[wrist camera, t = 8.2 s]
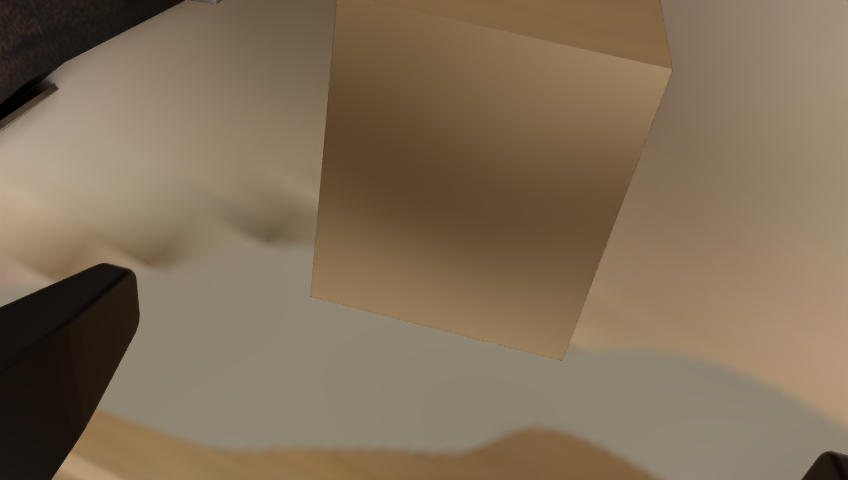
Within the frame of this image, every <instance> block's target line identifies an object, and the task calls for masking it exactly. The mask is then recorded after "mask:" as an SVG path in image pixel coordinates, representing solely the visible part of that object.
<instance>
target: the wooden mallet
mask: <svg viewBox="0 0 848 480" xmlns="http://www.w3.org/2000/svg"><path fill="white" fill-rule="evenodd" d="M672 70H673V69H672V63H671V58H670V53H669V47H668V42H667V37H666V31H665V26H664V21H663V15H662V10H661V5H660V0H337V5H336V16H335V27H334V38H333V50H332V61H331V72H330V83H329V94H328V106H327V117H326V128H325V139H324V150H323V162H322V173H321V184H320V195H319V206H318V218H317V229H316V240H315V251H314V262H313V274H312V285H311V297H313V298H318V299H321V300H325V301H329V302H333V303H337V304H341V305H345V306H349V307H352V308H356V309H360V310H364V311H368V312H372V313H376V314H380V315H384V316H388V317H392V318H396V319H400V320H403V321H408V322H412V323H415V324H419V325H423V326H427V327H431V328H435V329H439V330H443V331H447V332H451V333H455V334H459V335H462V336H466V337H470V338H474V339H478V340H482V341H486V342H490V343H494V344H498V345H502V346H505V347H510V348H514V349H517V350H522V351H525V352H529V353H533V354H537V355H541V356H545V357H549V358H553V359H556V360H560V361H562V360H563V358H564V355H565V352H566V350H567V347H568V344H569V342H570V339H571V336H572V334H573V331H574V329H575V326H576V323H577V321H578V318H579V315H580V313H581V310H582V307H583V305H584V302H585V300H586V297H587V294H588V292H589V289H590V286H591V284H592V281H593V278H594V276H595V273H596V270H597V268H598V265H599V263H600V260H601V257H602V255H603V252H604V249H605V247H606V244H607V241H608V239H609V236H610V234H611V231H612V228H613V226H614V223H615V220H616V218H617V215H618V212H619V210H620V207H621V205H622V202H623V199H624V197H625V194H626V191H627V189H628V186H629V183H630V181H631V178H632V175H633V173H634V170H635V168H636V165H637V162H638V160H639V157H640V154H641V152H642V149H643V146H644V144H645V141H646V139H647V136H648V133H649V131H650V128H651V125H652V123H653V120H654V117H655V115H656V112H657V109H658V107H659V104H660V102H661V99H662V96H663V94H664V91H665V88H666V86H667V83H668V80H669V78H670V75H671V73H672Z"/></svg>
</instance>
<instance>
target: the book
mask: <svg viewBox="0 0 848 480" xmlns="http://www.w3.org/2000/svg"><path fill="white" fill-rule="evenodd" d="M183 1H185V0H0V114H1V113H3V112H4V111H5V110H6V109H8V108H9V107H10V106H11V105H12V104H14V103H15V102H16V101H17V100H19V99H20V98H21V97H22V96H24V95H25V94H26V93H27V92H28V91H30V90H31V89H32V88H33V87H35V86H36V85H37V84H38V83H40V82H41V81H42V80H43V79H44V78H46V77H47V76H48V75H49V74H51V73H52V72H53V71H54V70H56V69H57V68H58V67H59V66H60V65H62V64H63V63H64V62H66V61H68V60H70V59H72V58H74V57H76V56H78V55H80V54H82V53H84V52H86V51H88V50H90V49H91V48H93V47H95V46H97V45H99V44H101V43H103V42H105V41H107V40H109V39H111V38H113V37H115V36H117V35H119V34H121V33H123V32H125V31H126V30H128V29H130V28H132V27H134V26H136V25H138V24H140V23H142V22H144V21H146V20H148V19H150V18H152V17H154V16H156V15H158V14H160V13H161V12H163V11H165V10H167V9H169V8H171V7H173V6H175V5H177V4H179V3H181V2H183ZM191 1H198V2H205V3H211V4H218V3H219V2H220V1H222V0H191ZM57 90H58V87H57V86H56V85H55V84H54V85H53V86H51V87H50V88H48V89H47V90H45V91H44V92H42V93H41V94H39V95H38V96H36V97H35V98H33V99H32V100H30V101H29V102H27V103H26V104H24V105H23V106H21V107H20V108H18V109H17V110H15V111H14V112H13V113H11V114H10V115H8V116H7V117H5V118H4V119H2V120H1V121H0V132H1V131H2V130H4V129H5V128H6V127H8V126H9V125H10V124H12V123H13V122H15V121H16V120H17V119H19V118H20V117H21V116H23V115H24V114H25V113H27V112H28V111H30V110H31V109H32V108H34V107H35V106H36V105H38V104H39V103H40V102H42V101H43V100H45V99H46V98H47V97H49V96H50V95H51V94H53V93H54V92H55V91H57Z"/></svg>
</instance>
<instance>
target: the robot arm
mask: <svg viewBox="0 0 848 480" xmlns="http://www.w3.org/2000/svg"><path fill="white" fill-rule="evenodd" d="M139 315H140V312H139V301H138V291H137V280H136V275H135V273H134V272H133V271H132V270H131V269H129V268H125V267H121V266H117V265H113V264H110V263H101V264H98V265H95V266H93V267H90V268H88V269H86V270H84V271H81V272H79V273H77V274H75V275H72V276H70V277H68V278H66V279H63V280H61V281H59V282H56V283H54V284H52V285H50V286H47V287H45V288H43V289H41V290H38V291H36V292H34V293H31V294H29V295H27V296H25V297H22V298H20V299H18V300H16V301H14V302H11V303H9V304H7V305H4V306H2V307H0V480H51V479H52V478H53V476H54V475H55V473H56V472H57V470H58V469H59V467H60V466H61V464H62V463H63V462H64V460H65V459H66V457H67V456H68V454H69V453H70V451H71V450H72V448H73V447H74V445H75V444H76V442H77V440H78V439H79V437H80V436H81V434H82V433H83V431H84V429H85V428H86V426H87V424H88V422H89V421H90V419H91V417H92V415H93V413H94V412H95V410H96V408H97V406H98V404H99V402H100V400H101V398H102V396H103V394H104V392H105V390H106V388H107V387H108V385H109V383H110V381H111V379H112V377H113V375H114V373H115V371H116V369H117V367H118V365H119V363H120V361H121V360H122V357H123V356H124V354H125V352H126V350H127V348H128V346H129V344H130V342H131V341H132V339H133V337H134V335H135V333H136V330H137V327H138V324H139V318H140V316H139ZM802 480H848V455H845V454H841V453H837V452H833V451H826V452H824V453H822V454H821V455H820V456H819V457H818V458H817V460H816V461H815V462H814V464H813V465H812V466H811V468H810V469H809V470H808V472H807V473H806V474H805V476H804V477H803V478H802Z"/></svg>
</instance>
